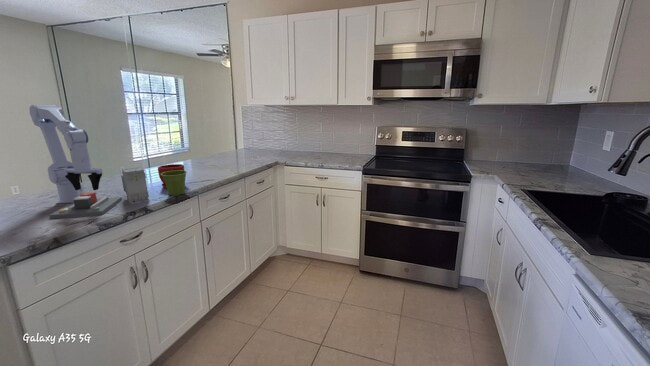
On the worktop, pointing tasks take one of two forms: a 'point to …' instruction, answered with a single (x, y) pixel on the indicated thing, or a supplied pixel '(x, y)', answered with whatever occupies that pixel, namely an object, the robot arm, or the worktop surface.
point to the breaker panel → (95, 209)
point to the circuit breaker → (135, 185)
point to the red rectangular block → (92, 194)
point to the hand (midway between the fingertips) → (87, 189)
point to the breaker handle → (82, 202)
